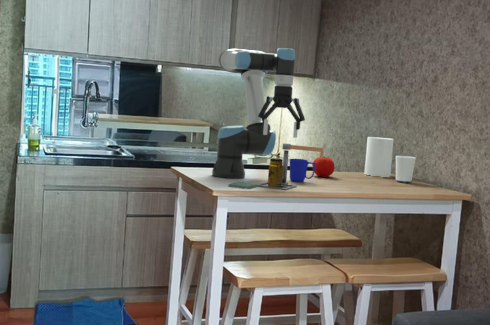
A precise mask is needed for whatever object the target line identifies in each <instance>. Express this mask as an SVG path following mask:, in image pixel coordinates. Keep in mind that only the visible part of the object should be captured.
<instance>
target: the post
mask: <svg viewBox="0 0 490 325" xmlns="http://www.w3.org/2000/svg"><path fill="white" fill-rule="evenodd" d="M283 150H284V149H283ZM289 152H290V150H284V151H283V159H282V160H283V161H282V163H283V164H282V165H283V175H282V184H287V185H289V182H287V180H288V178H287V176H288V167H289V164H288V163H289V154H290V153H289Z"/></svg>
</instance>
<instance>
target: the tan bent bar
mask: <svg viewBox="0 0 490 325" xmlns="http://www.w3.org/2000/svg"><path fill="white" fill-rule="evenodd" d="M281 147H282V150H288V151H290V150H294V151H296V150H297V151H309V152H319V153H320V154H319V155H320V156H319V157H324V150H325V149H324V147H320V146H310V145H298V144H297V145H296V144H292V143H285V142H284V143H282V146H281Z"/></svg>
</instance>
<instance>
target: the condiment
mask: <svg viewBox="0 0 490 325" xmlns="http://www.w3.org/2000/svg"><path fill="white" fill-rule="evenodd" d="M269 161H270V162H269V166H268V176H267V182H268V184H265V185H264V186H269V187H277V188H287V186H284V185H282V175H283V159H282V158H276V157H275V158H272V157H271V158H270V159H269Z"/></svg>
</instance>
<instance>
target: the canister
mask: <svg viewBox="0 0 490 325" xmlns="http://www.w3.org/2000/svg"><path fill="white" fill-rule="evenodd" d="M393 150H394V138H390V137H377V136H367V141H366V152H365V164H364V174H367V175H371V176H370V177H372V176H381V177H380V178H383V177H388V178H390V177H391V172H392V162H393ZM389 176H390V177H389Z"/></svg>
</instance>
